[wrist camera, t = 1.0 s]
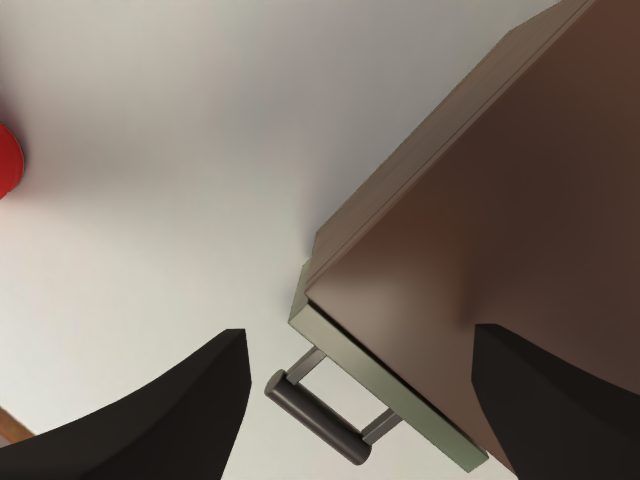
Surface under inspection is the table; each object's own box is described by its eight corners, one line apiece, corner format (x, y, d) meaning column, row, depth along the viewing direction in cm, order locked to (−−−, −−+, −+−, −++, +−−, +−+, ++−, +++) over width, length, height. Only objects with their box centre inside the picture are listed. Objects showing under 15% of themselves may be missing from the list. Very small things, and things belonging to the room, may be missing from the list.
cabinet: (456, 359, 22) (518, 479, 15) (315, 232, 21) (302, 293, 13) (656, 196, 19) (871, 241, 11) (510, 30, 17) (647, -52, 10)
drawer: (376, 425, 23) (389, 530, 17) (248, 321, 21) (212, 396, 15) (615, 231, 19) (744, 278, 13) (479, 84, 17) (554, 59, 11)
